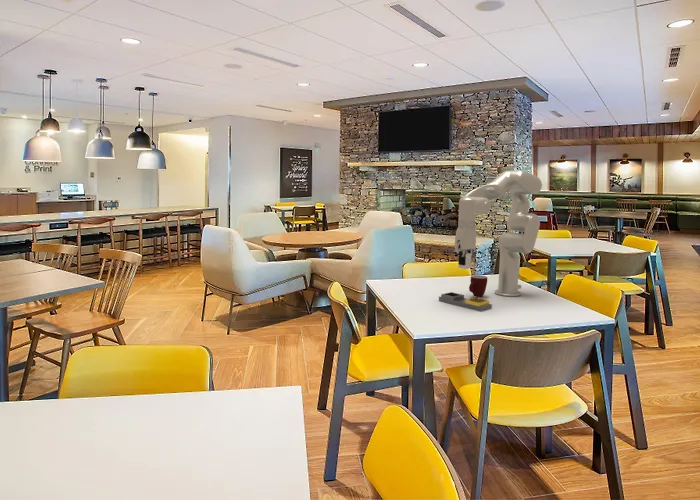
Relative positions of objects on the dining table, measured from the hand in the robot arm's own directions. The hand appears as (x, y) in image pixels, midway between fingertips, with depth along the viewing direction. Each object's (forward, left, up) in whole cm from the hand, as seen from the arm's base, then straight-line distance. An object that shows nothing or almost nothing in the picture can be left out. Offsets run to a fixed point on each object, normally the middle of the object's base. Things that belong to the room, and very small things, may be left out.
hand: (464, 264), depth 228 cm
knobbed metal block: (0, 0, -2) cm, 2 cm away
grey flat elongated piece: (0, +1, -19) cm, 19 cm away
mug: (-18, -5, -19) cm, 27 cm away
